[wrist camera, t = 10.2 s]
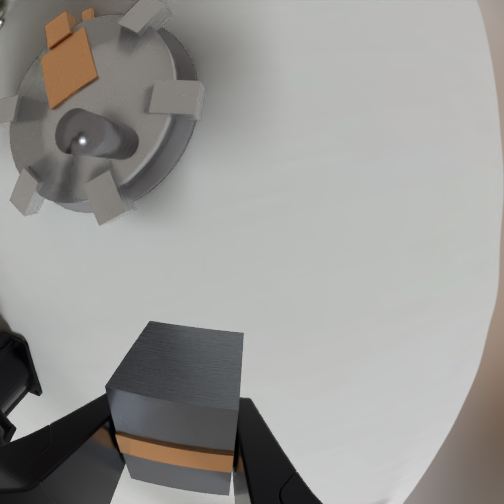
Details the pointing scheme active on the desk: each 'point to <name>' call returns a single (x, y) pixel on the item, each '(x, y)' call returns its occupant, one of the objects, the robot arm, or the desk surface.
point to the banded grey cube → (179, 406)
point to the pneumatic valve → (0, 13)
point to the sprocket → (96, 110)
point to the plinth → (176, 140)
